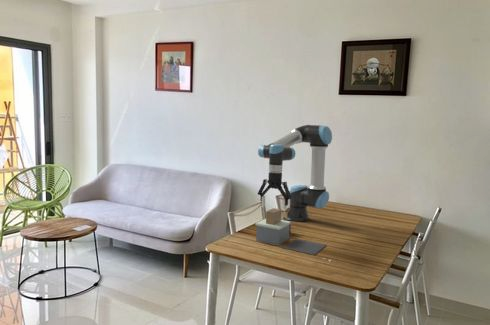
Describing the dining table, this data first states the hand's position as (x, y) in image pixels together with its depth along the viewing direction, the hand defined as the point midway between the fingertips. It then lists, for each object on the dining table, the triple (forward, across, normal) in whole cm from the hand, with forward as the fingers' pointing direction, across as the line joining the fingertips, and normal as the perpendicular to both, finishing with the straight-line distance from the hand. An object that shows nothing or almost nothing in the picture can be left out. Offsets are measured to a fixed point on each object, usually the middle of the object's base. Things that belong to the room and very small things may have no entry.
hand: (273, 209), depth 223 cm
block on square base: (+10, 0, 0) cm, 10 cm away
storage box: (+18, 0, 0) cm, 18 cm away
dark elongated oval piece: (+18, 0, +14) cm, 23 cm away
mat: (+18, +20, 0) cm, 27 cm away
